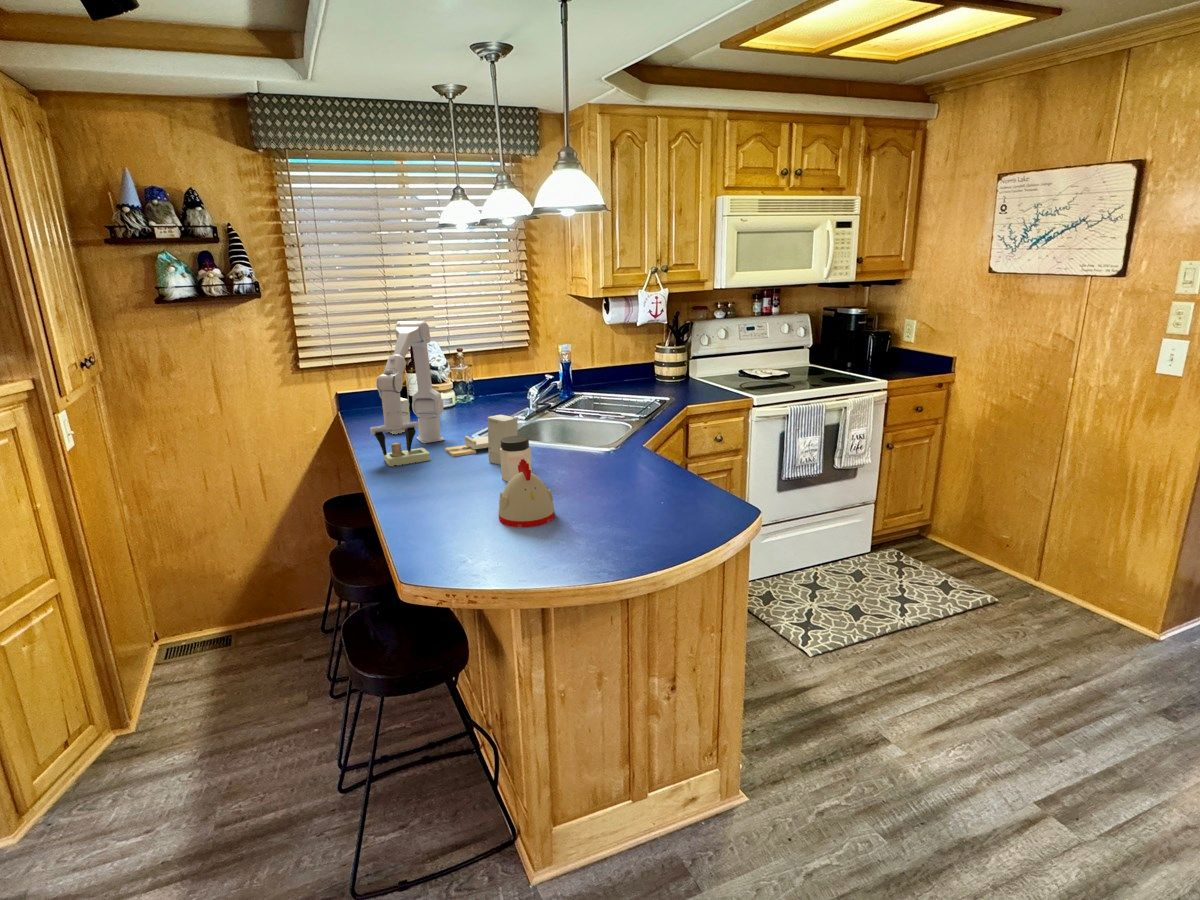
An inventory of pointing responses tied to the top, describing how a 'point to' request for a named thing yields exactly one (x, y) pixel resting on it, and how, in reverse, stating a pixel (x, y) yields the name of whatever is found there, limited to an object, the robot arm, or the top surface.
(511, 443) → the jar
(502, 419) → the skincare box
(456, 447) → the board
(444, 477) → the top surface
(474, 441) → the lid
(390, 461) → the socket board
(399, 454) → the peg
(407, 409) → the supplement box
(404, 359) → the robot arm
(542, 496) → the kitchen timer
